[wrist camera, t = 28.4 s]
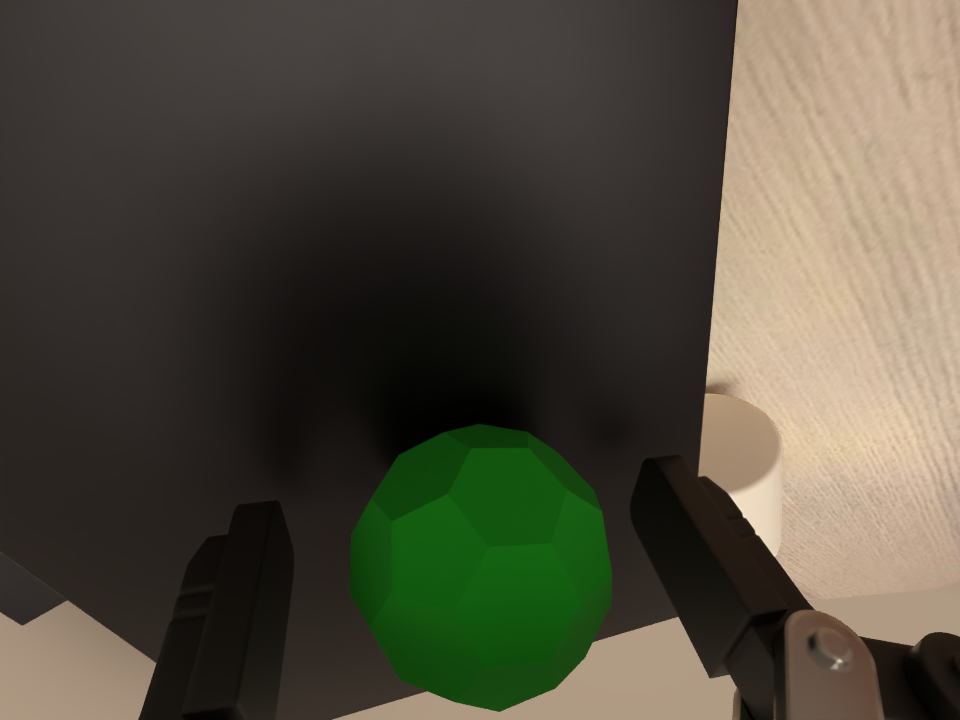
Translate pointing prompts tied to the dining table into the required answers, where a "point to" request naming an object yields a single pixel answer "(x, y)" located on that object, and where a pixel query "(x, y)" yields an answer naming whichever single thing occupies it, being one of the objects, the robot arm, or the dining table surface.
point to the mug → (745, 462)
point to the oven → (341, 279)
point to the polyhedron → (482, 566)
